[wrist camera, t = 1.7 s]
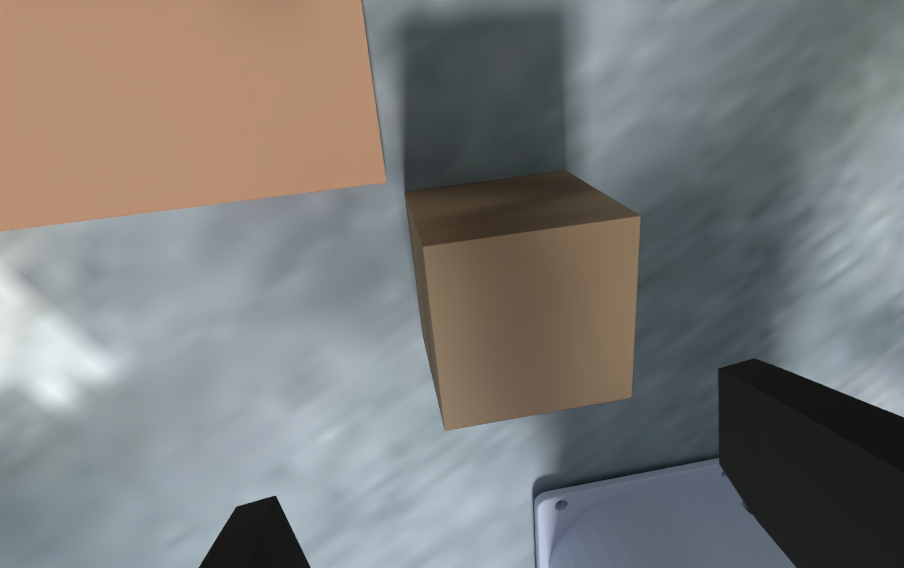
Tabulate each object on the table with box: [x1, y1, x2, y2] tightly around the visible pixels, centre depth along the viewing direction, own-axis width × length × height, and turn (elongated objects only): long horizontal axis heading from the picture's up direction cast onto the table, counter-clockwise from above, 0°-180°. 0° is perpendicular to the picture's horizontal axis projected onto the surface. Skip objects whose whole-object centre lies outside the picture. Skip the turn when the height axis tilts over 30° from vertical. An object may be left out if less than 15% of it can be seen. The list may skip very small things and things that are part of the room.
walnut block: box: [405, 171, 641, 431], centre depth 16 cm, size 5×5×5 cm
